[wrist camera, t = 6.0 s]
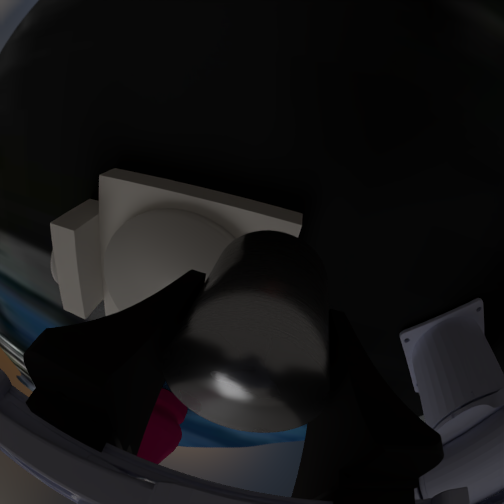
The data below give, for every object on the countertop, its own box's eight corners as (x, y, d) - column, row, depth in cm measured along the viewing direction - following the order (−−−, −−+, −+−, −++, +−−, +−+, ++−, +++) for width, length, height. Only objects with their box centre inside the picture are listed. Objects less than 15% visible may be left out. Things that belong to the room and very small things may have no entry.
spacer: (340, 310, 14) (346, 422, 8) (244, 334, 15) (213, 435, 10) (303, 213, 12) (294, 309, 7) (196, 252, 14) (132, 345, 8)
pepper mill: (133, 397, 35) (71, 519, 18) (144, 374, 32) (69, 520, 14) (181, 422, 36) (132, 548, 18) (200, 403, 32) (144, 554, 15)
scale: (302, 213, 20) (300, 250, 15) (256, 356, 27) (245, 402, 22) (86, 162, 21) (40, 182, 16) (93, 300, 28) (64, 333, 23)
